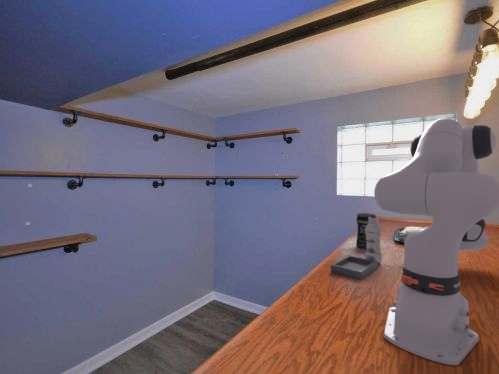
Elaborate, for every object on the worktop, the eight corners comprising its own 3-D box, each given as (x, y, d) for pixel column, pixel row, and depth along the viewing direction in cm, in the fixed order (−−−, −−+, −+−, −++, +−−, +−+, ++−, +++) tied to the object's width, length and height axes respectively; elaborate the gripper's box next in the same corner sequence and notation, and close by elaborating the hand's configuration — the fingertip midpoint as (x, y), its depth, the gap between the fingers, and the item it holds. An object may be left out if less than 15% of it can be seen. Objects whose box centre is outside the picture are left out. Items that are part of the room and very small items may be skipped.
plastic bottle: (384, 265, 109) (384, 219, 108) (367, 264, 110) (366, 218, 109) (379, 260, 115) (379, 216, 114) (363, 259, 116) (363, 216, 116)
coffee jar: (354, 248, 136) (354, 213, 135) (358, 244, 142) (358, 211, 141) (374, 251, 130) (374, 214, 129) (377, 247, 136) (377, 213, 135)
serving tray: (361, 280, 94) (361, 272, 94) (331, 272, 102) (330, 264, 102) (377, 268, 106) (377, 260, 106) (348, 261, 114) (348, 255, 114)
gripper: (426, 227, 117) (394, 226, 120) (453, 237, 97) (413, 236, 100) (426, 240, 118) (394, 240, 120) (453, 253, 98) (413, 252, 100)
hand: (403, 238), depth 110 cm, fingers open, 8 cm apart
